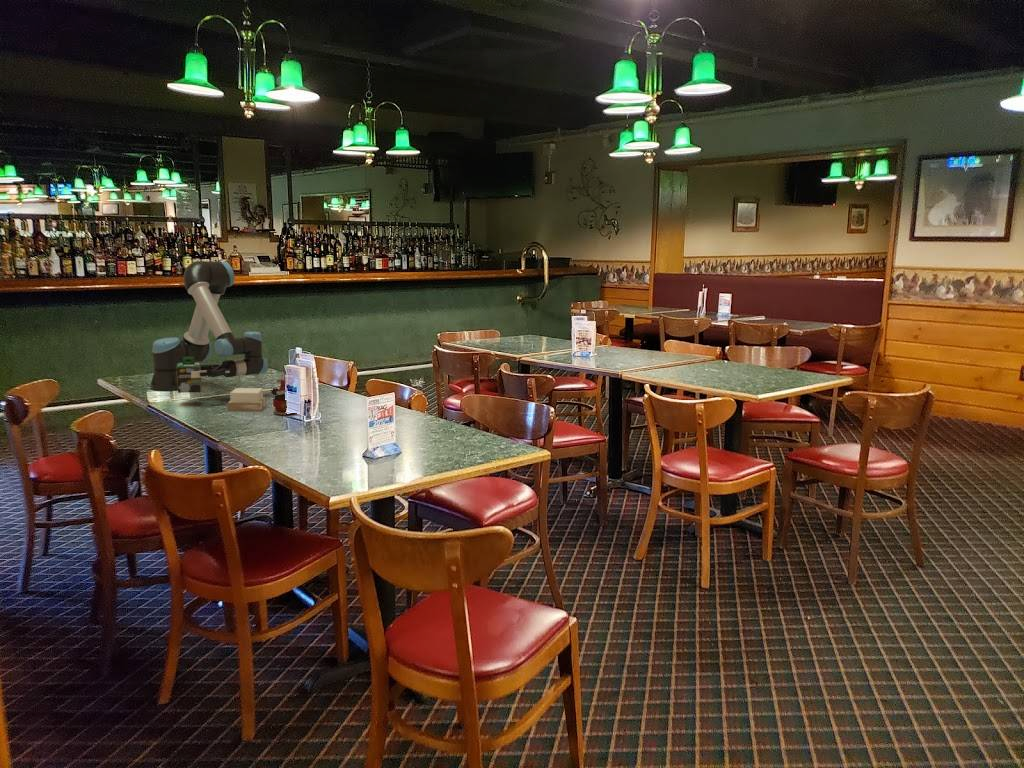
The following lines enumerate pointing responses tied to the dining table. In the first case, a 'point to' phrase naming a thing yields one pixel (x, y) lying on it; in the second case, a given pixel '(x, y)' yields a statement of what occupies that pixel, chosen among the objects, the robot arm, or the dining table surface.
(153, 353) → the robot arm
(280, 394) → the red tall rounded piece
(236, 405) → the tower base
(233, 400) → the tower top
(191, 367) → the chalk box
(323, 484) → the dining table surface
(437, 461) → the dining table surface
